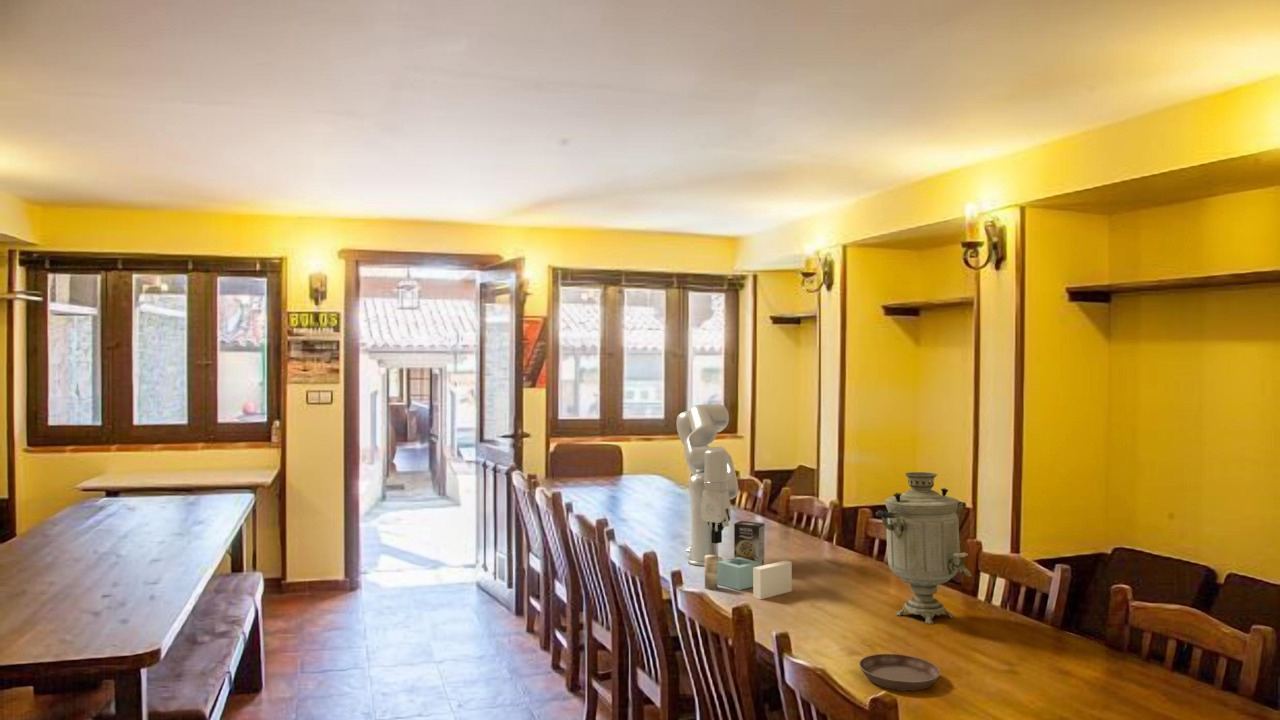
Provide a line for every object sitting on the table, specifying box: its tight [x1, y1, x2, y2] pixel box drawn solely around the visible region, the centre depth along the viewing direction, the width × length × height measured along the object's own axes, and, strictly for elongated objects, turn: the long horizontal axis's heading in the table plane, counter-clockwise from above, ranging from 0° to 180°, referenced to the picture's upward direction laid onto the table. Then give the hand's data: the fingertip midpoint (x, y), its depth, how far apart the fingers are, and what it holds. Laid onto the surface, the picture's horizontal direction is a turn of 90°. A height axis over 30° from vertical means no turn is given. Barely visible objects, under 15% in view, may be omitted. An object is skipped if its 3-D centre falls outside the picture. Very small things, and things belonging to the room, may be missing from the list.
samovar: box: [875, 471, 972, 625], centre depth 241 cm, size 30×26×40 cm
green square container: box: [717, 557, 761, 591], centre depth 278 cm, size 10×10×7 cm
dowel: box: [704, 555, 718, 591], centre depth 274 cm, size 4×4×10 cm
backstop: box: [752, 560, 793, 600], centre depth 267 cm, size 3×14×9 cm, turn 129°
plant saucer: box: [858, 653, 941, 691], centre depth 197 cm, size 18×18×3 cm
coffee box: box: [733, 520, 766, 566], centre depth 297 cm, size 9×6×16 cm
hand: (716, 542), depth 285 cm, fingers closed
